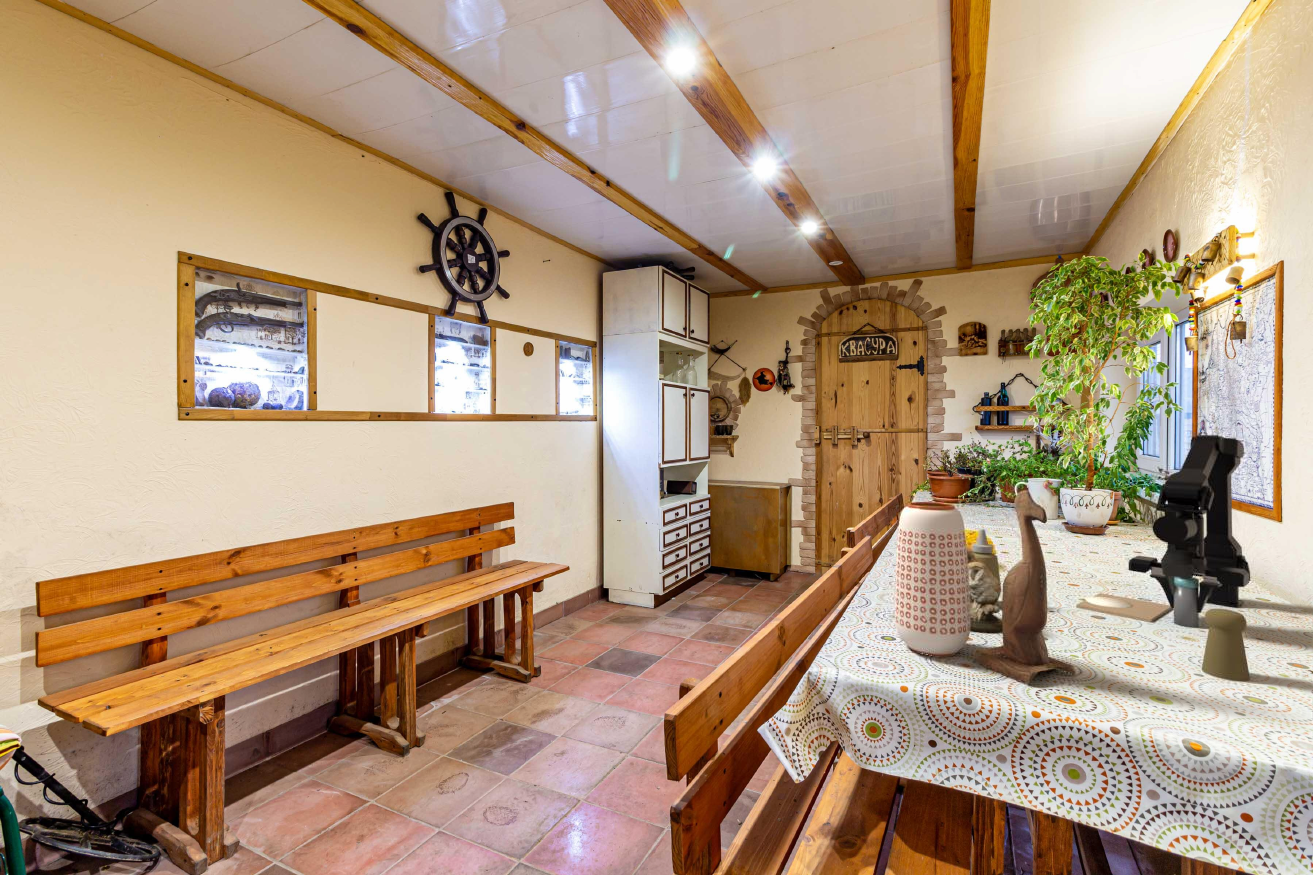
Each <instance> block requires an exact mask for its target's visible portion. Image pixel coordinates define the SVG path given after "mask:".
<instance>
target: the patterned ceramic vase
mask: <svg viewBox="0 0 1313 875" xmlns="http://www.w3.org/2000/svg"><path fill="white" fill-rule="evenodd" d="M898 521H899V522H898V531H897V532H898V533H897V541H896V542H897V543H896V559H895V560H896V561H895V584H894V585H895V587H894V588H895V590H894V591H895V592H894V625H895V629H896V631H897V634H898V635H899V637H900V639H901V640H902V641H903V643H904V644H906V646H907V647H909V648H910V649H909V648H908V649H909V650H911V649H912V650H914V651H916V652H915V653H917V652H919V653H923V654H928V655H932V656H931V657H934V656H940V657H939V658H945V657H946V658H947V656H949V657H953V656H955V655H957V653H958V652H959V651H960V650H961V649H962V648H963V647H964V646H965V645H966V644H967V642H968V640H969V637H970V633H971V631H970V597H969V574H968V559H967V547H968V546H967V539H966V538H967V536H966V529H965V523H964V518H963V516H962V513H961V512H960V511H959V509H957V508H956V506H955V505H954V504H953V503H946V502H940V501H938V502H937V501H915V502H914V501H913V502H909V503H907V506H905V507H904V508H903V509H902V511H901V513H900V516H899V520H898ZM912 650H911V651H912ZM914 651H913V652H914ZM919 653H918V654H919ZM923 654H922V655H923Z"/></svg>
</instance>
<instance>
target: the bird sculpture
mask: <svg viewBox="0 0 1313 875" xmlns="http://www.w3.org/2000/svg"><path fill="white" fill-rule="evenodd" d="M1013 507H1014V509H1015V512H1016V517H1017V521H1018V525H1019V531H1020V537H1021V553H1022V554H1021V555H1022V559H1021V560H1019V561H1018V562H1017V563H1015V565H1013V566H1012V567H1011V568H1010V570H1008V572H1007V574H1006V576H1005V577H1004V579H1003V583H1002V596H1001V597H1002V599H1001V600H1002V601H1001V619H1002V620H1001V621H1002V624H1003V631H1002V645H1001V646H993V647H988V648H983V649H976V650H975V651H974V653H973V654H972V657H973V658H974V659H973V664H975V663H977V665H978V664H979V665H982V667H985V668H986V669H991V670H992V671H993V670H994V671H993V672H996V673H997V672H998V674H1001V675H1003V676H1005V677H1006V676H1007V677H1008V678H1010V679H1012V680H1015V681H1018V682H1020V683H1022V684H1023V683H1024V684H1026V685H1027V686H1029V685H1030V683H1031V681H1032V680H1033V678H1034V677H1035V676H1036V675H1037V674H1038V673H1039V672H1041V671H1043V672H1045V671H1049V670H1053V669H1057V670H1059V671H1060V672H1065V673H1066V674H1069V675H1072V676H1075V677H1076V675H1077V671H1076V670H1077V669H1076V667H1075V666H1074V665H1073V664H1070V663H1067V662H1065V661H1061V660H1058V659H1055V658H1053V657H1050V656H1049V651H1048V648H1047V643H1046V639H1045V637H1044V634H1043V630H1044V629H1045V628H1046V625H1047V622H1048V592H1047V590H1048V588H1047V587H1048V583H1047V580H1048V579H1047V567H1046V562H1045V558H1044V557H1045V556H1044V553H1043V549H1042V546H1041V542H1040V539H1039V536H1038V534H1037V530H1036V529H1037V528H1036V527H1035V526H1034V523H1033V522H1035V521H1038V522H1040V523H1042V524H1047V522H1048V517H1047V512H1046V510H1045V508H1044V507H1042V506H1041V505H1040V504H1038V503H1036V502H1035V500H1034V499H1033V496H1032V495H1031V493H1030V491H1029V490H1025V489H1024V490H1022V491H1019V492H1018V494H1016V496H1015V499H1014V502H1013Z"/></svg>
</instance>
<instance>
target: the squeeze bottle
mask: <svg viewBox="0 0 1313 875" xmlns="http://www.w3.org/2000/svg"><path fill="white" fill-rule="evenodd" d="M971 550H972V551H973V553H974V556H975V559H978V560H979V561H980V562H981V563H983V564H985V565H986V566H987V567H988V569H989V571H990V572H991V573H992V574H993V576H994V577H996V578H997V579H998V581H999V582H1000V584H999V586H1000V594H999V596H998V599H997V601H996V603H995V604H994V605H996V606H997V604H998V602H999V598H1000V597H1001V595H1002V594H1001V593H1002V586H1001V584H1002V583H1001V575H1000V567H999V561H998V559H999V558H998V556H997V555H996V554H995V553H994V545H993V544H989V541H988V538H987V533H986V529H979V530H978V535H977V539H976V542H975V543H974V542H973V543H972V544H971Z"/></svg>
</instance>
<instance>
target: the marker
mask: <svg viewBox="0 0 1313 875" xmlns="http://www.w3.org/2000/svg"><path fill="white" fill-rule="evenodd" d="M1199 580H1200V579H1199V578H1197V577H1194V576H1193V577H1192V578H1190V579H1184V578H1181V577H1176V576H1173V584H1174V608H1173V624H1175V625H1177V626H1179V627H1180V626H1181V627H1185V628H1199V626H1200V625H1199V620H1200V619H1199V616H1200V613H1198V610H1197V605H1198V598H1199V591H1200V587H1199V583H1200V581H1199Z"/></svg>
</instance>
